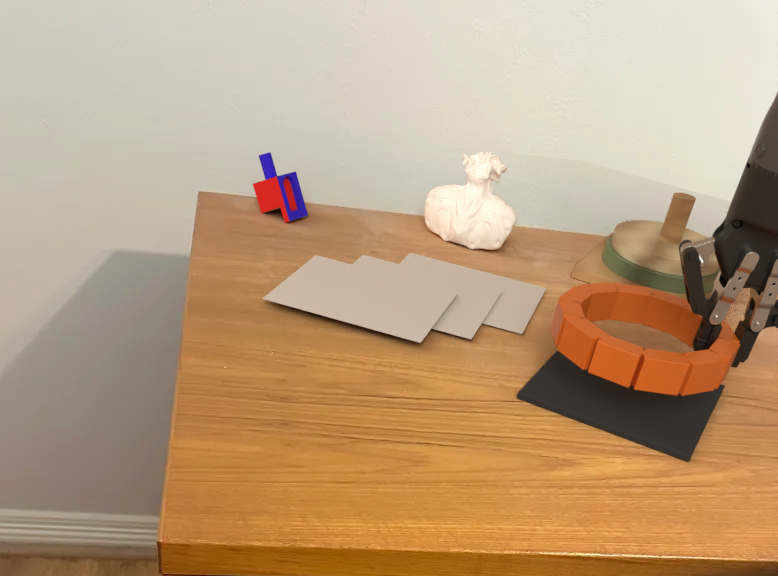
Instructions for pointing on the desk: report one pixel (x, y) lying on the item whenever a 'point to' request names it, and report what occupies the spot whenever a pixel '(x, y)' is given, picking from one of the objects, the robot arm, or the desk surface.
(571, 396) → the mat
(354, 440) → the desk surface
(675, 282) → the ring stack
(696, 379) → the orange ring
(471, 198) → the bust
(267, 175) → the toy building block
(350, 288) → the paper stack
